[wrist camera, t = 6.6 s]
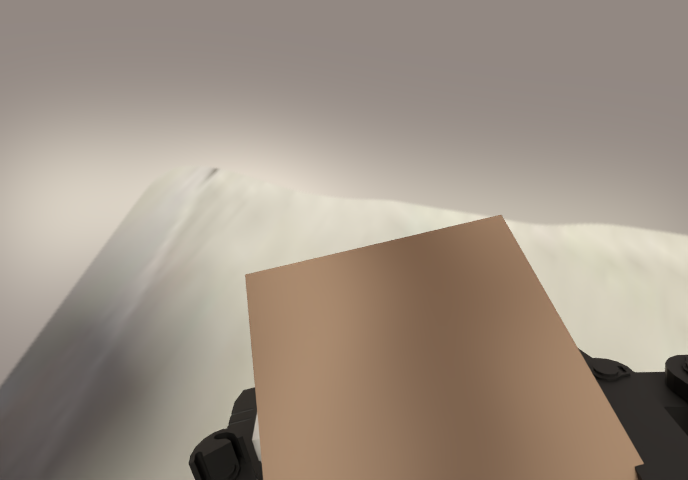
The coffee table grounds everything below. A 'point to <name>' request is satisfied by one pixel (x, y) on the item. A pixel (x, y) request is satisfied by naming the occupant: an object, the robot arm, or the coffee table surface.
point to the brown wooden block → (425, 367)
